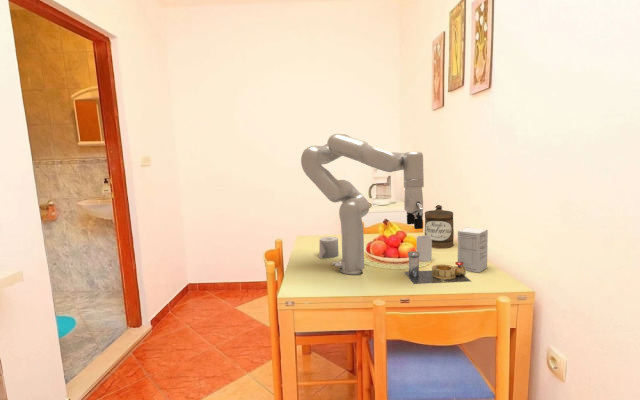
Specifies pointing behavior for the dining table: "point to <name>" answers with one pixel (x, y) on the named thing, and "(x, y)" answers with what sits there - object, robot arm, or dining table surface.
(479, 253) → the supplement box
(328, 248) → the toilet tissue
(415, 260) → the pipe stub
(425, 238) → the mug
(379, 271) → the dining table surface
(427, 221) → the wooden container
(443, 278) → the fitting board
